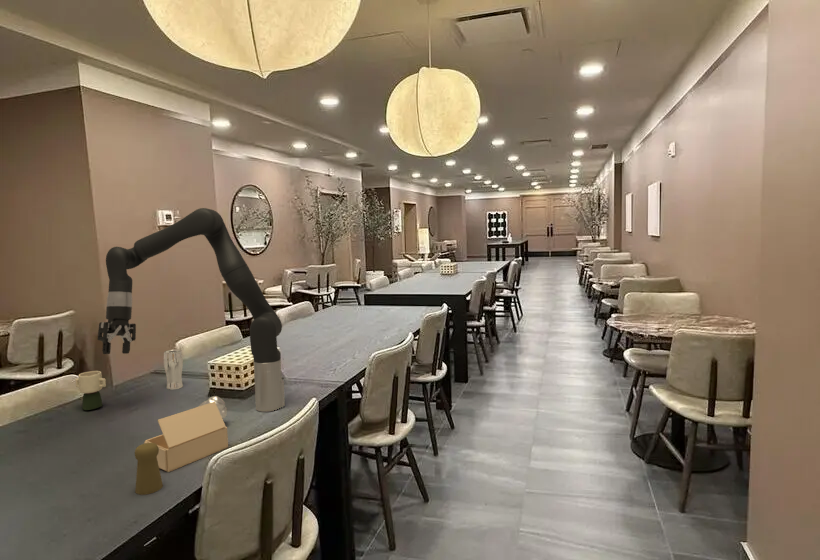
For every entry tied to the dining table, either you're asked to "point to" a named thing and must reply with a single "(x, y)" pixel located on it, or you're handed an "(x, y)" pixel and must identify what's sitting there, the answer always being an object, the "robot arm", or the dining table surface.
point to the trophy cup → (91, 389)
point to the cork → (147, 469)
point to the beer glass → (173, 368)
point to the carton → (189, 449)
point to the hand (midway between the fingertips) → (116, 353)
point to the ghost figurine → (219, 403)
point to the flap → (191, 424)
